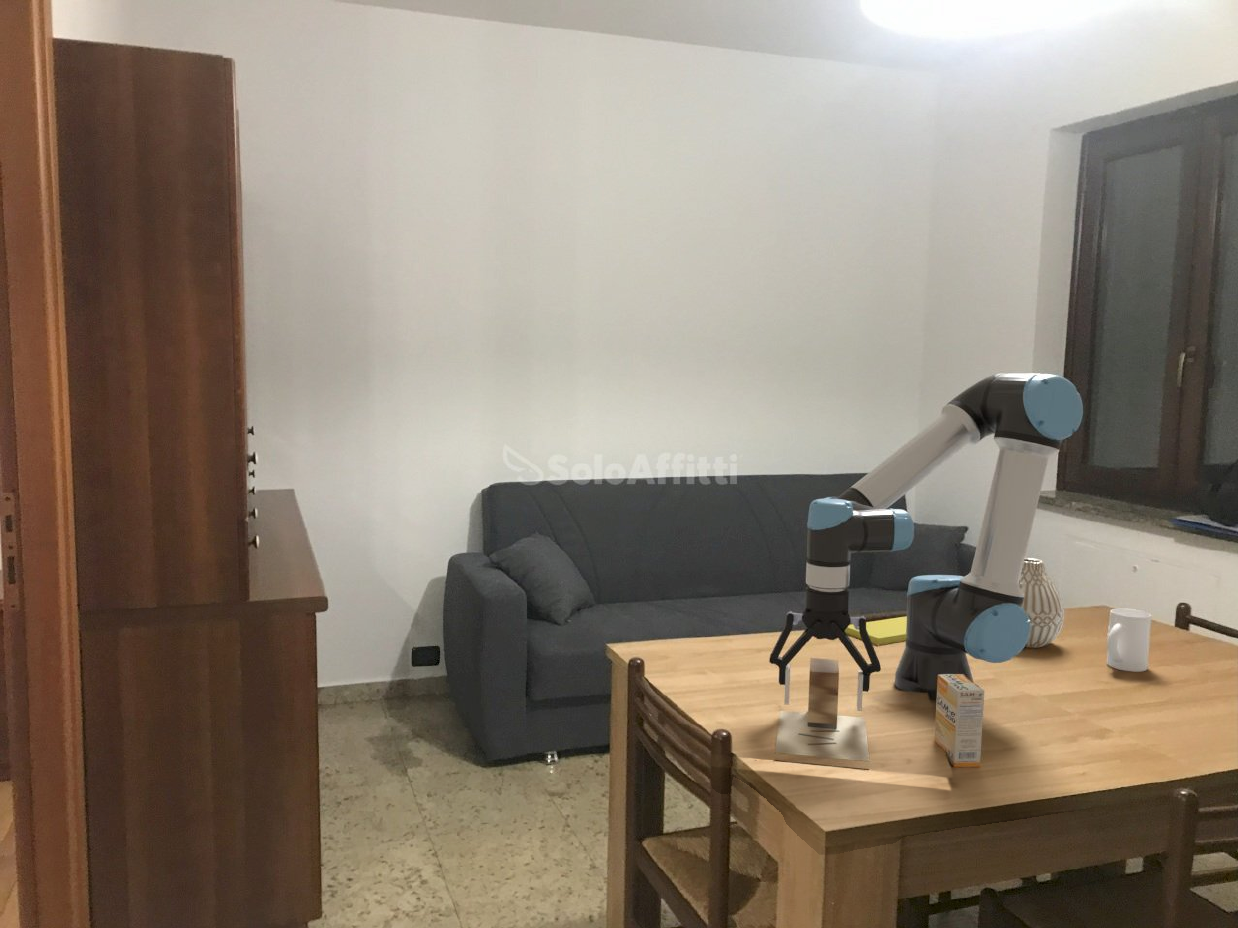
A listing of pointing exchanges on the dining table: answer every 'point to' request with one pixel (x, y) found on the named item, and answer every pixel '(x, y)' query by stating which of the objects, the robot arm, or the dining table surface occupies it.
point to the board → (822, 738)
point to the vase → (1040, 603)
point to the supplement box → (959, 719)
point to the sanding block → (823, 693)
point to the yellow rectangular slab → (883, 630)
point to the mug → (1128, 639)
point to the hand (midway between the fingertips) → (822, 705)
